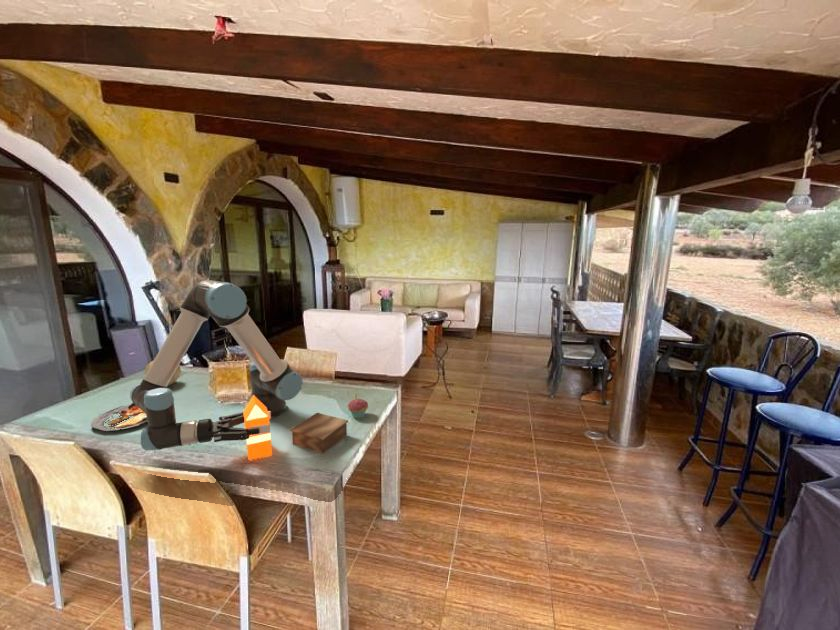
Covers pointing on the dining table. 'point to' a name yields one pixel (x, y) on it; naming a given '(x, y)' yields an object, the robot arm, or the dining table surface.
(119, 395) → the dining table surface
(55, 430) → the dining table surface
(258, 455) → the orange juice
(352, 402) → the cupcake
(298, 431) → the walnut riser
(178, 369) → the cantaloupe
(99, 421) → the food plate
